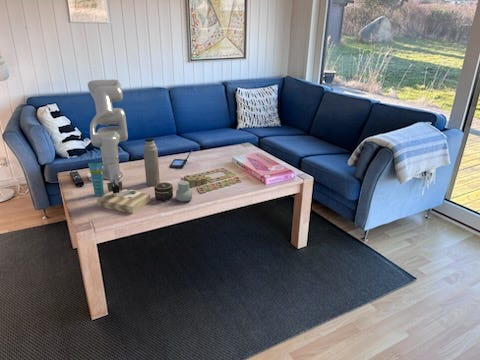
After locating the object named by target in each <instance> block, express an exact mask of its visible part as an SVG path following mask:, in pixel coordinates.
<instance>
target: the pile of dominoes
mask: <svg viewBox="0 0 480 360" xmlns="http://www.w3.org/2000/svg"><path fill="white" fill-rule="evenodd" d="M221 172H222V173H224V175H221V176H217V177H214V178H212V177H211V176H208V175H212V174H215V173H221ZM180 178H181V181H188V182H189V188H190V189H193V188H196V187H197V192H198V194H200V195H201V194H206V193H207V192H212V191H214V190H219V189H224V188H225V187H231V185H236V184H238V183H243V182H242V179H241V177H240V176H237V174H236V173H234V172H232V171H231V170H229V169H227V168H225V167H219V168H215V169H211V170H207V171H203V172H198V173H194V174H187V175H184V176H182V177H180ZM208 182H209V184H208Z"/></svg>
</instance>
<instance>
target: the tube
mask: <svg viewBox="0 0 480 360" xmlns="http://www.w3.org/2000/svg"><path fill="white" fill-rule="evenodd" d="M87 166H88V169H89V172H90V176H91V177H90V178H91V182H92V186H93V192H94V196H96V197H102V196H103V195H105V192H104V179H103V176H102V174H103V172H102V168H103V162H87Z"/></svg>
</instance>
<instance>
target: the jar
mask: <svg viewBox="0 0 480 360" xmlns="http://www.w3.org/2000/svg"><path fill="white" fill-rule="evenodd" d="M153 187H154V188H153V189H154V198H155V199H156V200H157V201H158V202H169V201H171V200H172V199H173V196H174V187H173V184H172V183H171V182H160V183H158V184H156V185H155V186H153Z"/></svg>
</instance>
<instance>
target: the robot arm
mask: <svg viewBox="0 0 480 360" xmlns="http://www.w3.org/2000/svg"><path fill="white" fill-rule="evenodd" d="M87 89H88V92H89V93H90V95H91V97H92V99H93V101H94V105H95V112H96V115H94V117H93V119H92V120H91V122H90V124H89V136H90V141H91V144H92V146H93V147H96V148H100V153H101V160H102V176H103V180H108V181H109V183H112V184H113V186H112V189H113V193H119V185H118V182H119V181H121V180H120V178H122V177H123V175H124V174H123V172H122V171H121V170H120V163H119V162H120V157H119V147H118V146H119V144H120V143H122V142H126V141H127V140H128V137H129V135H128V128H127V127H128V125H127V118H126V112H125V111H124V109H123V108H121V107H113V102H121V101H122V100H123V98H124V95H123V90H122V89H123V88H122V85H121V82H120V80H118V79H94V80H90V81H88V83H87ZM98 125H100V126H105V127H99V128H98V129H97V131H96V128H97V126H98ZM114 125H116V126H114ZM117 125H118V126H117ZM114 182H115V183H114Z"/></svg>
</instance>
